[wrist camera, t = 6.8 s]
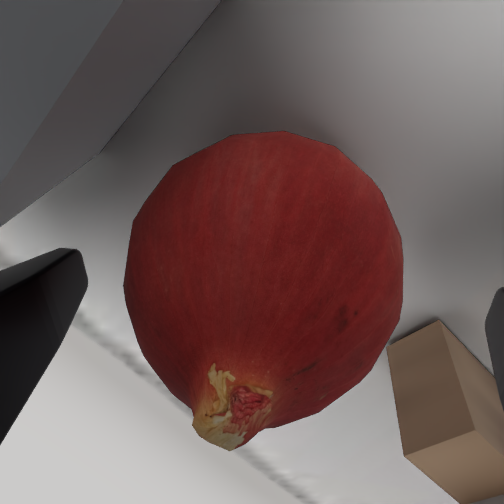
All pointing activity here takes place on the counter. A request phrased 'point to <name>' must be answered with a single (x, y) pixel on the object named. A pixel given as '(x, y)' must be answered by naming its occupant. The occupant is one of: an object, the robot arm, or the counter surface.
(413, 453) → the door
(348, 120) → the counter surface
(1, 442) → the robot arm
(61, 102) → the jamb
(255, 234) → the onion
